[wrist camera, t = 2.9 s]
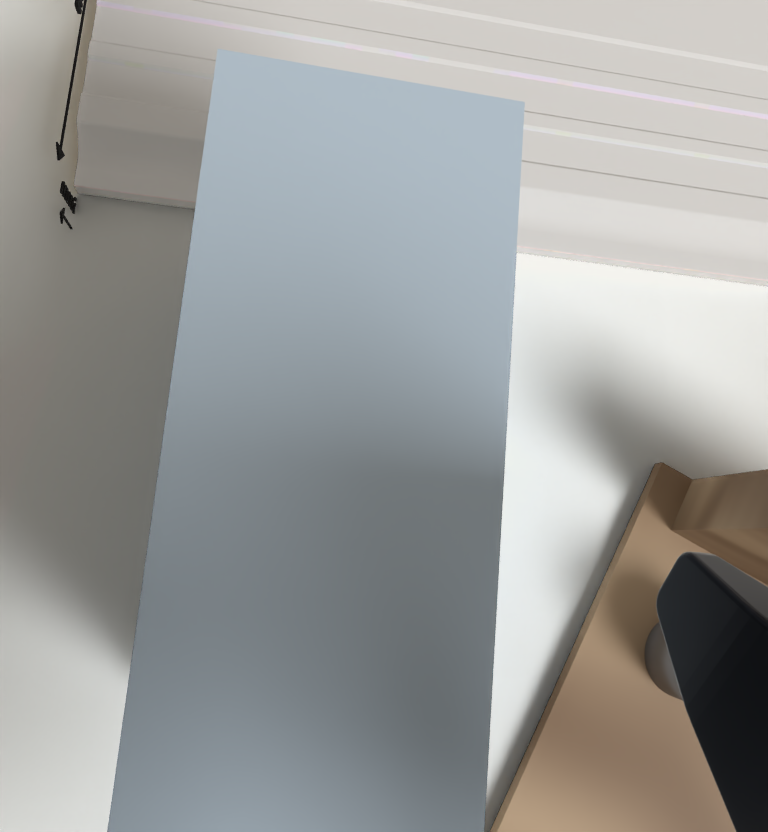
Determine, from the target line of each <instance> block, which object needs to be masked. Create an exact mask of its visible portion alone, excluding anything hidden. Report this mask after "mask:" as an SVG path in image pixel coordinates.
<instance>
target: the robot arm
mask: <svg viewBox="0 0 768 832" xmlns="http://www.w3.org/2000/svg"><path fill="white" fill-rule="evenodd" d="M656 609H657V615H658V618H659V622H660V625H661V629H662V632H663V635H664V639H665V642H666V646H667V649H668V652H669V656H670V659H671V663H672V666H673V670H674V673H675V676H676V680H677V683H678V687H679V690H680V693H681V696H682V699H683V702H684V705H685V708H686V711H687V714H688V716H689V719H690V722H691V724H692V727H693V729H694V732H695V734H696V736H697V739H698V741H699V744H700V746H701V748H702V751H703V753H704V756H705V758H706V760H707V763H708V765H709V768H710V770H711V773H712V775H713V777H714V780H715V782H716V785H717V787H718V789H719V792H720V794H721V797H722V799H723V801H724V804H725V806H726V809H727V811H728V814H729V816H730V818H731V821H732V823H733V826H734V828H735V830H736V832H768V587H767V586H765V585H764V584H762V583H760V582H759V581H757V580H756V579H754V578H752V577H751V576H749V575H747V574H746V573H744V572H743V571H741V570H739V569H738V568H736V567H734V566H733V565H731V564H730V563H728V562H726V561H725V560H723V559H721V558H720V557H718V556H716V555H714V554H710V553H701V552H691V551H688V552H684V553H682V554H681V555H680V556H679V557H678V558H677V560H676V562H675V564H674V565H673V567H672V569H671V570H670V572H669V574H668V576H667V577H666V579H665V581H664V583H663V584H662V586H661V588H660V590H659V592H658V595H657V600H656Z"/></svg>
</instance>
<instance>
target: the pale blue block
mask: <svg viewBox="0 0 768 832" xmlns="http://www.w3.org/2000/svg"><path fill="white" fill-rule="evenodd" d="M524 108H525V102H522V101H517V100H511V99H505V98H499V97H493V96H488V95H482V94H476V93H470V92H465V91H459V90H453V89H447V88H442V87H436V86H430V85H424V84H419V83H413V82H407V81H401V80H395V79H390V78H384V77H378V76H372V75H367V74H361V73H355V72H349V71H344V70H338V69H332V68H326V67H321V66H315V65H309V64H303V63H298V62H292V61H286V60H280V59H274V58H269V57H263V56H257V55H251V54H246V53H240V52H234V51H228V50H223V49H218V50H217V57H216V64H215V71H214V78H213V85H212V92H211V99H210V107H209V114H208V121H207V128H206V135H205V142H204V149H203V156H202V163H201V170H200V178H199V185H198V192H197V199H196V206H195V213H194V220H193V227H192V234H191V241H190V249H189V256H188V263H187V270H186V277H185V284H184V291H183V298H182V305H181V313H180V320H179V327H178V334H177V341H176V348H175V355H174V362H173V369H172V376H171V384H170V391H169V398H168V405H167V412H166V419H165V426H164V433H163V440H162V447H161V455H160V462H159V469H158V476H157V483H156V490H155V497H154V504H153V511H152V518H151V526H150V533H149V540H148V547H147V554H146V561H145V568H144V575H143V582H142V589H141V597H140V604H139V611H138V618H137V625H136V632H135V639H134V646H133V653H132V660H131V668H130V675H129V682H128V689H127V696H126V703H125V710H124V717H123V724H122V731H121V739H120V746H119V753H118V760H117V767H116V774H115V781H114V788H113V795H112V802H111V810H110V817H109V824H108V831H107V832H484V825H485V807H486V789H487V771H488V754H489V736H490V718H491V700H492V682H493V664H494V646H495V628H496V610H497V592H498V574H499V556H500V538H501V520H502V502H503V485H504V467H505V449H506V431H507V413H508V395H509V377H510V359H511V341H512V323H513V305H514V287H515V269H516V251H517V233H518V215H519V198H520V180H521V162H522V144H523V126H524Z"/></svg>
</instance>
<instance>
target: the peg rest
mask: <svg viewBox="0 0 768 832" xmlns="http://www.w3.org/2000/svg"><path fill="white" fill-rule="evenodd" d="M688 551H691V552H701V553H710V554H714V555H716V556H718V557H720V558H721V559H723V560H725V561H726V562H728V563H730V564H731V565H733V566H734V567H736V568H738V569H739V570H741V571H743V572H744V573H746V574H747V575H749V576H751V577H752V578H754V579H756V580H757V581H759V582H760V583H762V584H764V585H765V586H767V587H768V469H767V470H760V471H752V472H745V473H738V474H731V475H723V476H716V477H709V478H701V479H694V480H692V479H690V478H689V477H687V476H685V475H683V474H682V473H680V472H678V471H676V470H675V469H673V468H671V467H670V466H668V465H666V464H664V463H663V462H662V463H657V464H655V465H654V468H653V470H652V472H651V474H650V476H649V479H648V481H647V483H646V485H645V488H644V490H643V492H642V494H641V497H640V499H639V501H638V503H637V505H636V508H635V510H634V512H633V514H632V517H631V519H630V521H629V523H628V525H627V528H626V530H625V532H624V534H623V537H622V539H621V541H620V543H619V545H618V548H617V550H616V552H615V554H614V557H613V559H612V561H611V563H610V565H609V568H608V570H607V572H606V574H605V577H604V579H603V581H602V583H601V585H600V588H599V590H598V592H597V594H596V597H595V599H594V601H593V603H592V606H591V608H590V610H589V612H588V614H587V617H586V619H585V621H584V623H583V626H582V628H581V630H580V632H579V634H578V637H577V639H576V641H575V643H574V646H573V648H572V650H571V652H570V654H569V657H568V659H567V661H566V663H565V666H564V668H563V670H562V672H561V674H560V677H559V679H558V681H557V683H556V686H555V688H554V690H553V692H552V694H551V697H550V699H549V701H548V703H547V706H546V708H545V710H544V712H543V715H542V717H541V719H540V721H539V723H538V726H537V728H536V730H535V732H534V735H533V737H532V739H531V741H530V743H529V746H528V748H527V750H526V752H525V755H524V757H523V759H522V761H521V763H520V766H519V768H518V770H517V772H516V775H515V777H514V779H513V781H512V783H511V786H510V788H509V790H508V792H507V795H506V797H505V799H504V801H503V803H502V806H501V808H500V810H499V812H498V815H497V817H496V819H495V821H494V824H493V826H492V828H491V830H490V832H736V830H735V828H734V826H733V823H732V821H731V818H730V816H729V814H728V811H727V809H726V806H725V804H724V801H723V799H722V797H721V794H720V792H719V789H718V787H717V785H716V782H715V780H714V777H713V775H712V773H711V770H710V768H709V765H708V763H707V760H706V758H705V756H704V753H703V751H702V748H701V746H700V744H699V741H698V739H697V736H696V734H695V732H694V729H693V727H692V724H691V722H690V719H689V716H688V714H687V711H686V708H685V705H684V702H683V699H682V696H681V693H680V690H679V687H678V683H677V680H676V676H675V673H674V670H673V666H672V663H671V659H670V656H669V652H668V649H667V646H666V642H665V639H664V635H663V632H662V629H661V625H660V622H659V618H658V615H657V609H656V600H657V595H658V592H659V590H660V588H661V586H662V584H663V583H664V581H665V579H666V577H667V576H668V574H669V572H670V570H671V569H672V567H673V565H674V564H675V562H676V560H677V558H678V557H679V556H680V555H681V554H682V553H684V552H688Z"/></svg>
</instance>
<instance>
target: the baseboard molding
mask: <svg viewBox="0 0 768 832" xmlns="http://www.w3.org/2000/svg"><path fill="white" fill-rule="evenodd" d="M82 1H84V5H83V3H82ZM86 2H87V0H75V8H76V11H77V14H81V13H82V17H81V23H80V29H79V35H78V40H77V46H76V52H75V58H74V64H73V70H72V76H71V82H70V88H69V94H68V99H67V105H66V111H65V117H64V123H63V129H62V135H61V141H60V145H59V144H58V142H56V149H57V160H61V159H62V158H63V157H64V156H65V155H64V153H63V151H62V145H63V139H64V133H65V127H66V121H67V115H68V109H69V103H70V97H71V91H72V85H73V79H74V73H75V67H76V62H77V56H78V50H79V44H80V38H81V32H82V26H83V20H84V14H85V8H86ZM82 7H83V11H82V10H81V8H82ZM218 49H223V50H228V51H234V52H240V53H246V54H251V55H257V56H263V57H269V58H274V59H280V60H286V61H292V62H298V63H303V64H309V65H315V66H321V67H326V68H332V69H338V70H344V71H349V72H355V73H361V74H367V75H372V76H378V77H384V78H390V79H395V80H401V81H407V82H413V83H419V84H424V85H430V86H436V87H442V88H447V89H453V90H459V91H465V92H470V93H476V94H482V95H488V96H493V97H499V98H505V99H511V100H517V101H522V102H525V108H524V126H523V144H522V162H521V180H520V198H519V215H518V233H517V251H516V253H522V254H529V255H537V256H544V257H551V258H559V259H566V260H574V261H581V262H589V263H596V264H603V265H611V266H618V267H626V268H633V269H640V270H648V271H655V272H663V273H670V274H677V275H685V276H692V277H700V278H707V279H714V280H722V281H729V282H737V283H744V284H752V285H759V286H766V287H768V0H97V7H96V13H95V19H94V25H93V32H92V38H91V40H90V42H89V48H88V62H87V68H86V74H85V80H84V86H83V92H82V93H81V97H80V103H79V109H78V115H77V133H78V161H77V168H76V174H75V180H74V187H75V189H76V191H77V193H78V194H85V195H92V196H99V197H107V198H114V199H122V200H129V201H137V202H144V203H151V204H159V205H166V206H174V207H181V208H188V209H195V206H196V199H197V192H198V185H199V178H200V170H201V163H202V156H203V149H204V142H205V135H206V128H207V121H208V114H209V107H210V99H211V92H212V85H213V78H214V71H215V64H216V57H217V50H218ZM68 190H69V189H68V188H67V185H65V182H64V181H62V183H61V188H60V193H61V194H62V196H63V197H64V199H65V201H66V203H67V204H68V206H69V207H70V209H71V210H72V213H73V214H74V213H75V206H76V203H74V201H76V200H77V198H76V197H74V198H73V196H72V195H71V192H69V191H68ZM64 212H65V208H63V209H62V210H61V211H60V221H61V224H63V218H64V220H65V221H66V223H67V225H68V226H69V228H70V229H72V227H71V225H70V223H69V222H68V220H67V219H66V217H65V216H64Z"/></svg>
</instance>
